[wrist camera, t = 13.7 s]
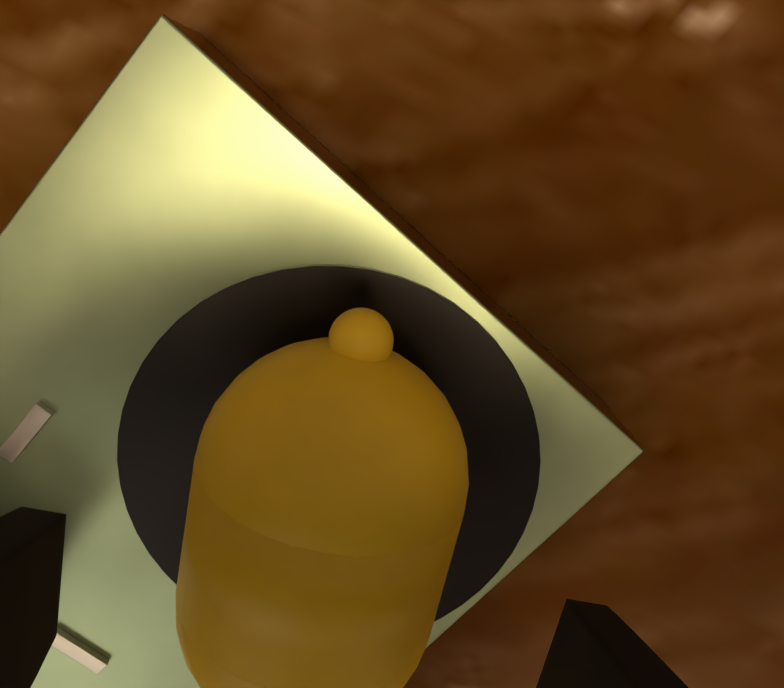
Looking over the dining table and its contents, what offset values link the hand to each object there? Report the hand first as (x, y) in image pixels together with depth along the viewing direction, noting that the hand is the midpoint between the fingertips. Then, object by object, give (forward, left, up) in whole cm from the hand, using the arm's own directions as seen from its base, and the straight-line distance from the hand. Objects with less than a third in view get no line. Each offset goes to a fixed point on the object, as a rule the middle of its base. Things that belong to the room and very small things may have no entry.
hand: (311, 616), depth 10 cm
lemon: (0, 0, -4) cm, 4 cm away
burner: (0, 0, -4) cm, 4 cm away
